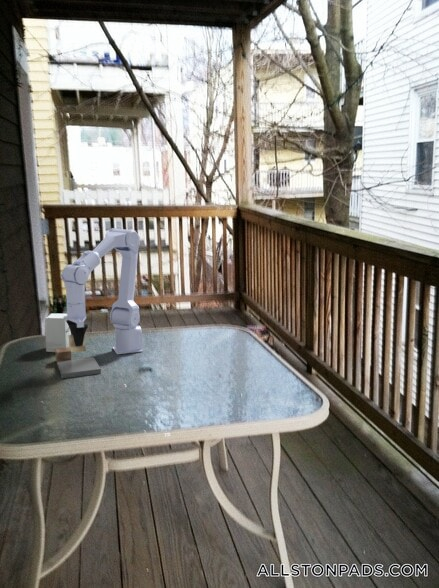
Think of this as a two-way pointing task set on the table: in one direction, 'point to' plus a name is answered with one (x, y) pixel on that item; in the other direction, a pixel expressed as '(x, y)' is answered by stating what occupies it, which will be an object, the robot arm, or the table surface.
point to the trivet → (78, 367)
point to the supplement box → (56, 332)
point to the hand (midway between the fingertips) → (77, 343)
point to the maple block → (73, 347)
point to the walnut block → (63, 354)
